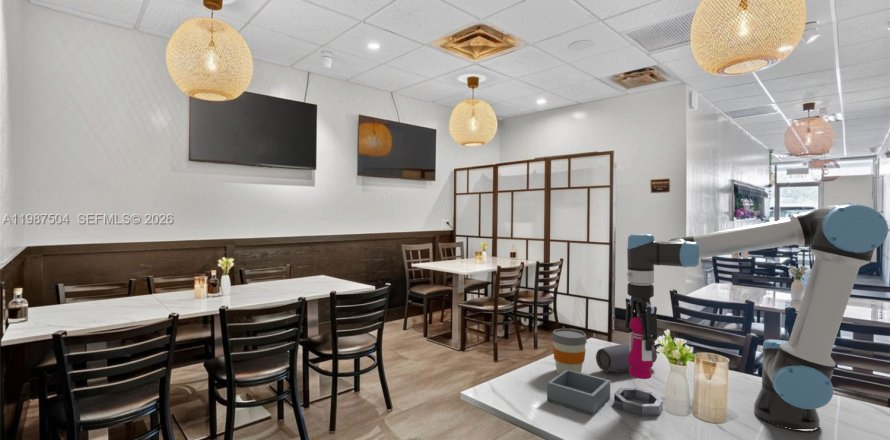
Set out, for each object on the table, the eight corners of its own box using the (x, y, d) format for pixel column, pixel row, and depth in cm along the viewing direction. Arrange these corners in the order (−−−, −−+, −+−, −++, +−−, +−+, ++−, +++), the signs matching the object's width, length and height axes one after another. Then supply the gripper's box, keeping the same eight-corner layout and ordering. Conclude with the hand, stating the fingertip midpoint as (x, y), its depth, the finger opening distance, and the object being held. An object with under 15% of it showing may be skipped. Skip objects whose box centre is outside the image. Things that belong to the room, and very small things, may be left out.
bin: (610, 398, 138) (610, 380, 138) (593, 415, 126) (593, 396, 126) (566, 386, 148) (566, 369, 147) (547, 400, 136) (547, 382, 136)
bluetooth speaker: (612, 378, 154) (612, 351, 154) (594, 369, 163) (594, 344, 163) (658, 370, 163) (658, 344, 163) (638, 362, 172) (639, 337, 171)
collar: (665, 404, 134) (665, 395, 134) (655, 420, 124) (655, 410, 124) (623, 393, 142) (623, 384, 142) (610, 407, 132) (610, 397, 132)
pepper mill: (634, 369, 138) (634, 308, 137) (657, 375, 132) (657, 312, 132) (623, 374, 133) (623, 311, 132) (646, 381, 127) (646, 316, 127)
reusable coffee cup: (589, 370, 162) (590, 331, 162) (581, 381, 151) (582, 340, 151) (556, 363, 169) (557, 326, 168) (547, 374, 158) (548, 334, 157)
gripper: (613, 278, 141) (613, 346, 142) (646, 289, 122) (646, 368, 122) (635, 278, 142) (634, 346, 142) (671, 288, 122) (671, 367, 123)
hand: (640, 356), depth 132 cm, fingers closed on pepper mill, 6 cm apart
